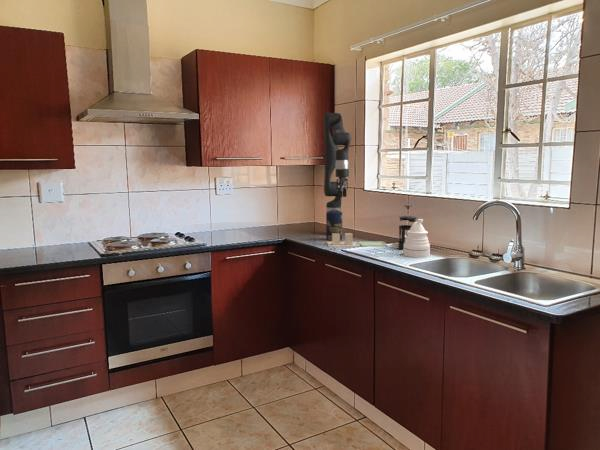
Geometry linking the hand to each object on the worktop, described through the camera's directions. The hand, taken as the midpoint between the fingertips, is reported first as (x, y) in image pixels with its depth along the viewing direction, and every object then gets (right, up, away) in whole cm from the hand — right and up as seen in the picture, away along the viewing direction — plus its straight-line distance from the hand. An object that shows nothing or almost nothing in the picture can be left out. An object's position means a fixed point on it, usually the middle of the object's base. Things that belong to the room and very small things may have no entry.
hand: (342, 197), depth 271 cm
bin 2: (+16, -27, -7) cm, 32 cm away
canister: (-4, -25, +9) cm, 27 cm away
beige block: (+3, -27, -7) cm, 28 cm away
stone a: (-4, -27, -8) cm, 28 cm away
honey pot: (+34, -31, -34) cm, 57 cm away
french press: (+33, -29, -17) cm, 47 cm away
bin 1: (0, -27, -7) cm, 28 cm away
